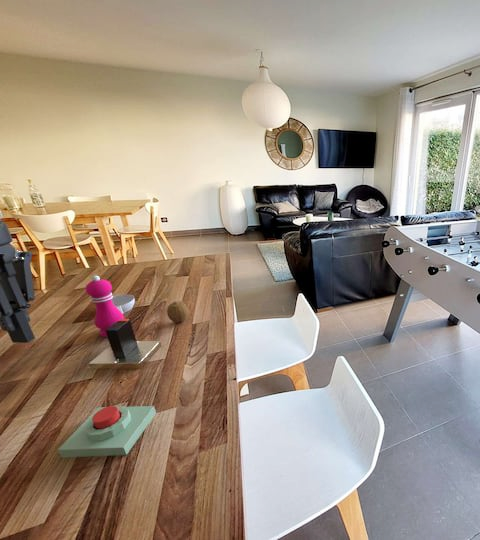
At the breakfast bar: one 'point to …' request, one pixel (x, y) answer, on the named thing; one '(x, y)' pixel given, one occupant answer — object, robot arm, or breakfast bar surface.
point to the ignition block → (109, 434)
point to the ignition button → (106, 417)
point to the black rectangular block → (121, 338)
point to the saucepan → (123, 302)
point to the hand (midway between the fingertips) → (24, 340)
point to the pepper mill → (103, 304)
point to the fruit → (177, 311)
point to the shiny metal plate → (131, 361)
